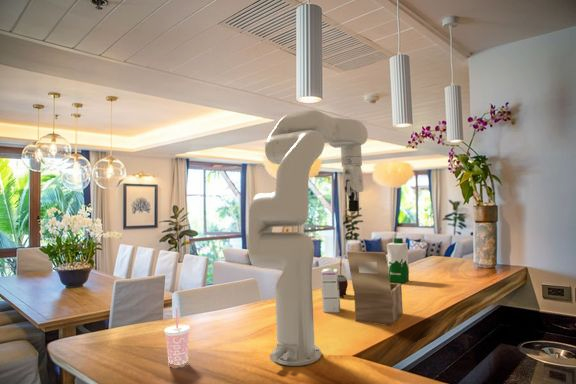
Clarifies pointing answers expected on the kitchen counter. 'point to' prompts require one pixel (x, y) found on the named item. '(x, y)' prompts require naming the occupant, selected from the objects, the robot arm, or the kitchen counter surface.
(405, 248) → the milk carton
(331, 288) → the syrup box
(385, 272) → the carton flap
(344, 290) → the mate gourd
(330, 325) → the kitchen counter surface
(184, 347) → the beverage cup
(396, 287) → the carton
